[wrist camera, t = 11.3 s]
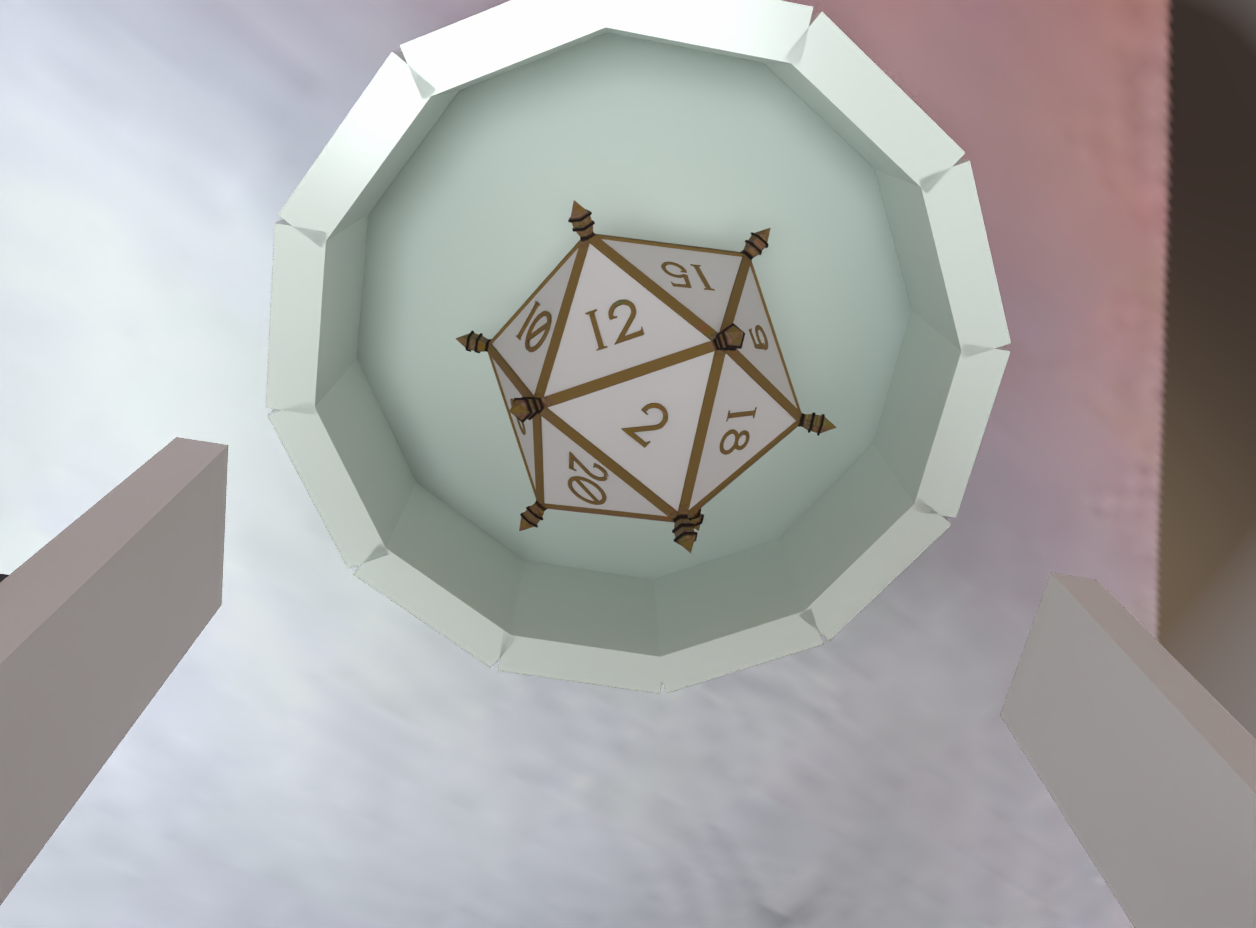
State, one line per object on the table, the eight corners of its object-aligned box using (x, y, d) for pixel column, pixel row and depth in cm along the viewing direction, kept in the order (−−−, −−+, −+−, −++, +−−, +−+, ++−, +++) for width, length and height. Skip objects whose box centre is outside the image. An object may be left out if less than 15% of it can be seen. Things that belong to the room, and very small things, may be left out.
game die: (677, 356, 33) (762, 632, 28) (420, 336, 30) (463, 647, 25) (808, 137, 27) (952, 446, 21) (497, 79, 23) (577, 430, 18)
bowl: (846, 626, 34) (887, 726, 29) (310, 546, 33) (254, 636, 28) (1013, 64, 28) (1104, 64, 23) (352, -67, 26) (290, -98, 21)
